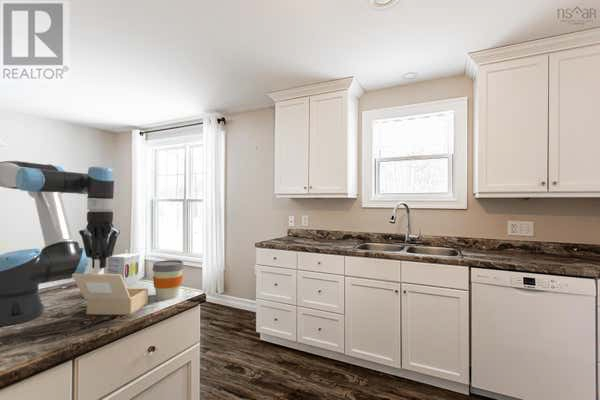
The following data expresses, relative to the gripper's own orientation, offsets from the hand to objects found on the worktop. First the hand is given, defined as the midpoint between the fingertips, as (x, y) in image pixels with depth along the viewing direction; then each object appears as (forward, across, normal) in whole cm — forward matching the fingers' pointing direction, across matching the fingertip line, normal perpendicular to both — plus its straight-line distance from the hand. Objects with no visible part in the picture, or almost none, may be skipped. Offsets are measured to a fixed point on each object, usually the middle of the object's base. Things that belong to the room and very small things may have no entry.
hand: (98, 277), depth 97 cm
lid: (+3, +1, 0) cm, 4 cm away
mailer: (+15, +1, +10) cm, 18 cm away
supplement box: (+16, -10, +32) cm, 37 cm away
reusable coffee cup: (+16, +13, +25) cm, 32 cm away
